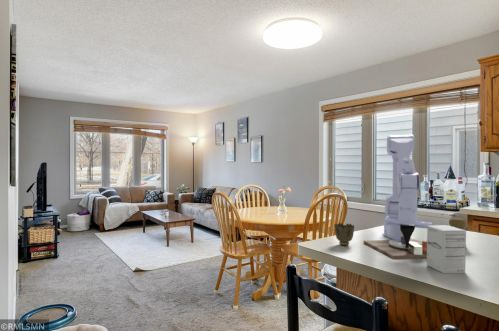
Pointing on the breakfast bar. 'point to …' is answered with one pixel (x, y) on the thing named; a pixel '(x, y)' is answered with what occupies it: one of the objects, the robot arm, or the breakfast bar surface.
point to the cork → (457, 223)
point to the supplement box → (446, 248)
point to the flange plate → (413, 246)
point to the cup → (344, 233)
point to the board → (395, 252)
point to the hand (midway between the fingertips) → (407, 247)
